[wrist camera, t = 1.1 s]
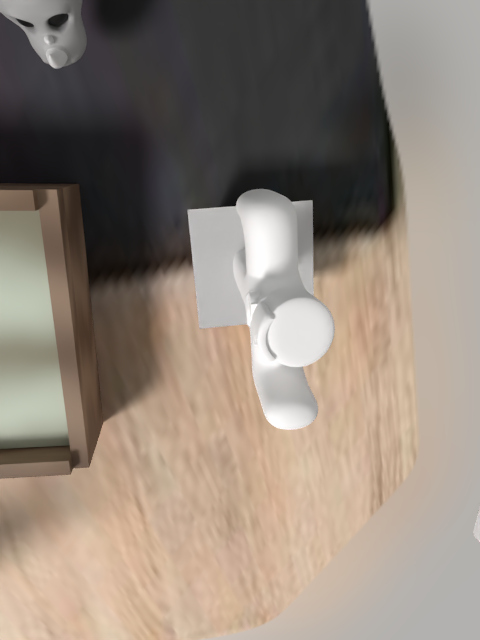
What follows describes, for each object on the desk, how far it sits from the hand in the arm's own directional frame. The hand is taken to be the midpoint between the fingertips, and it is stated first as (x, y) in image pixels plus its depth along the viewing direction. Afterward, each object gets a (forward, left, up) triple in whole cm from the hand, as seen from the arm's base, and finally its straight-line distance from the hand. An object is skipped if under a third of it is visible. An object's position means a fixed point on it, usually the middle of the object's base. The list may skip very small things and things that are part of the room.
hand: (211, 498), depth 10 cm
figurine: (-1, +3, -22) cm, 23 cm away
